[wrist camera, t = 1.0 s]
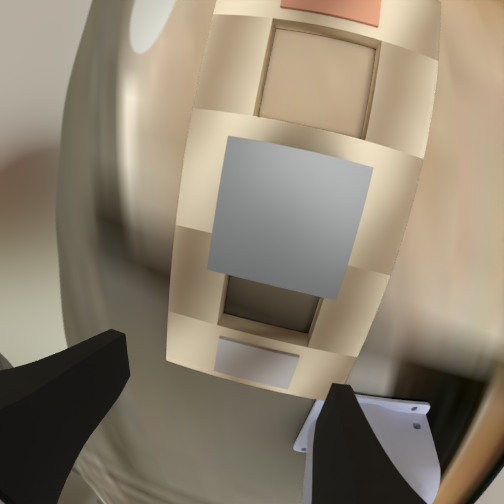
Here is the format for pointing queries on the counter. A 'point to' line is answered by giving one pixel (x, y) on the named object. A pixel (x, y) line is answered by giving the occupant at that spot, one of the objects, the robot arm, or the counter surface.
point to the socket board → (311, 139)
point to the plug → (287, 216)
